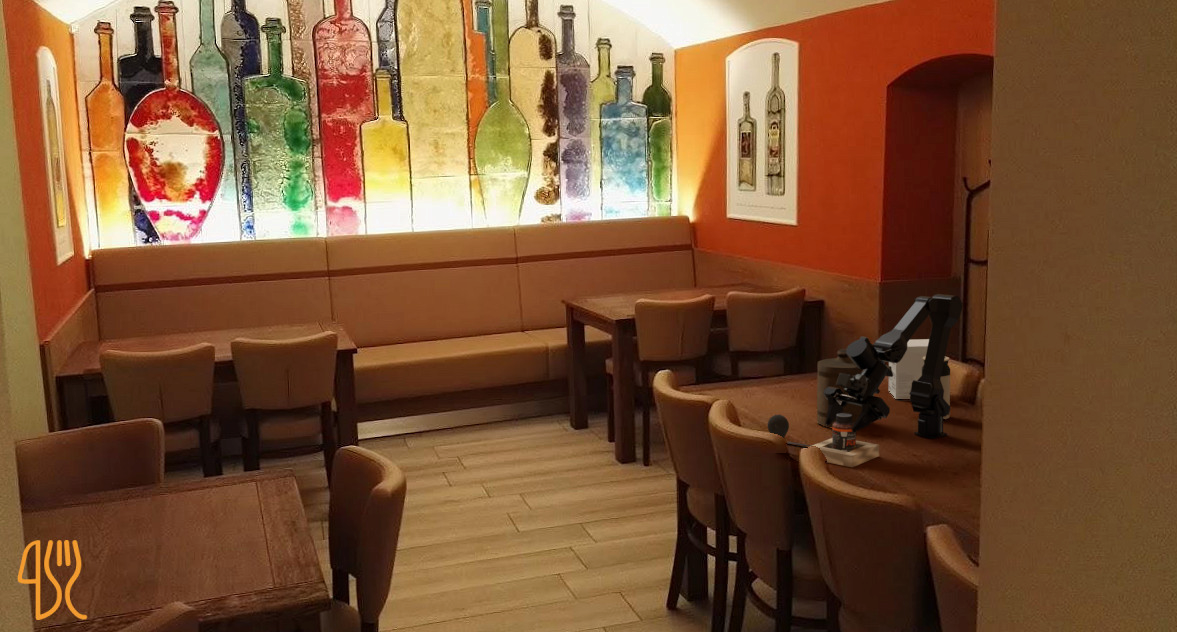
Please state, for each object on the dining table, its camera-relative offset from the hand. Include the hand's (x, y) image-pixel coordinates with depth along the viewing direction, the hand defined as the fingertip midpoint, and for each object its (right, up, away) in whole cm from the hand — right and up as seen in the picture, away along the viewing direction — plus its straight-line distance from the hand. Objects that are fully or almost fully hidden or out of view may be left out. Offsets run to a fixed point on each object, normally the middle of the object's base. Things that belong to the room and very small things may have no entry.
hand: (839, 427), depth 264 cm
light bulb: (-14, -7, +9) cm, 18 cm away
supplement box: (+40, +3, +67) cm, 78 cm away
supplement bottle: (+2, -8, +2) cm, 8 cm away
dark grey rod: (-7, -7, +12) cm, 15 cm away
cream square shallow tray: (+1, -8, +2) cm, 8 cm away
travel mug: (+38, -1, +39) cm, 54 cm away
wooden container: (+10, -3, +36) cm, 37 cm away
